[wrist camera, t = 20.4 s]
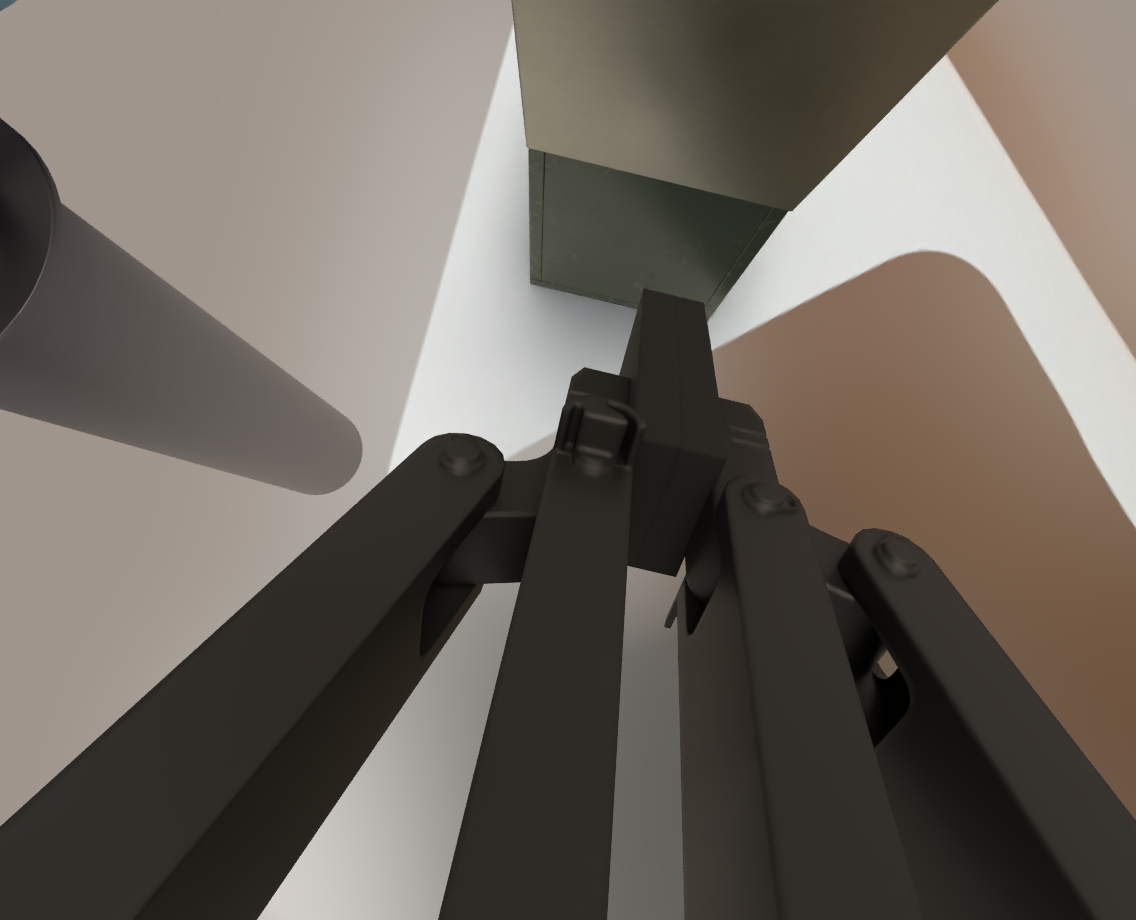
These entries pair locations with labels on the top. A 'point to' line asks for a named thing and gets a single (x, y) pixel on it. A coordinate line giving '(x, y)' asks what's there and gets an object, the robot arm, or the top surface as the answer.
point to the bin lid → (724, 83)
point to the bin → (637, 234)
